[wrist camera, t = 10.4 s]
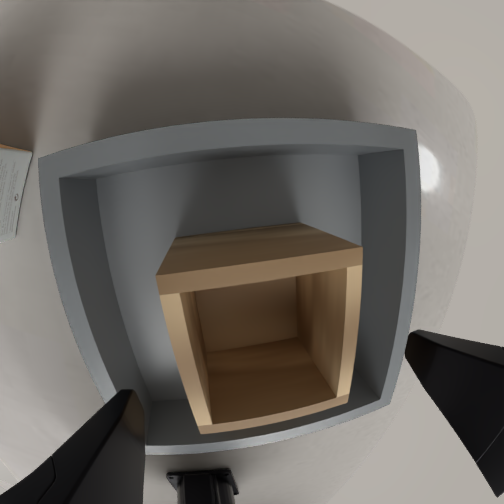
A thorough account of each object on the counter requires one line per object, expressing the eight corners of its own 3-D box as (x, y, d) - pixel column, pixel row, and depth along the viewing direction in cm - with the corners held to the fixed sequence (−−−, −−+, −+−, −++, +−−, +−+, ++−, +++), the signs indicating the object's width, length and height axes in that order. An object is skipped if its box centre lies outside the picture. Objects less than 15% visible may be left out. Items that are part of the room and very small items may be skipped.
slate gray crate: (356, 364, 19) (389, 404, 14) (145, 401, 16) (136, 454, 11) (361, 140, 15) (415, 129, 10) (85, 165, 12) (38, 158, 7)
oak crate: (303, 338, 16) (347, 402, 10) (197, 356, 15) (200, 434, 9) (300, 222, 14) (362, 246, 8) (175, 237, 13) (155, 275, 7)
